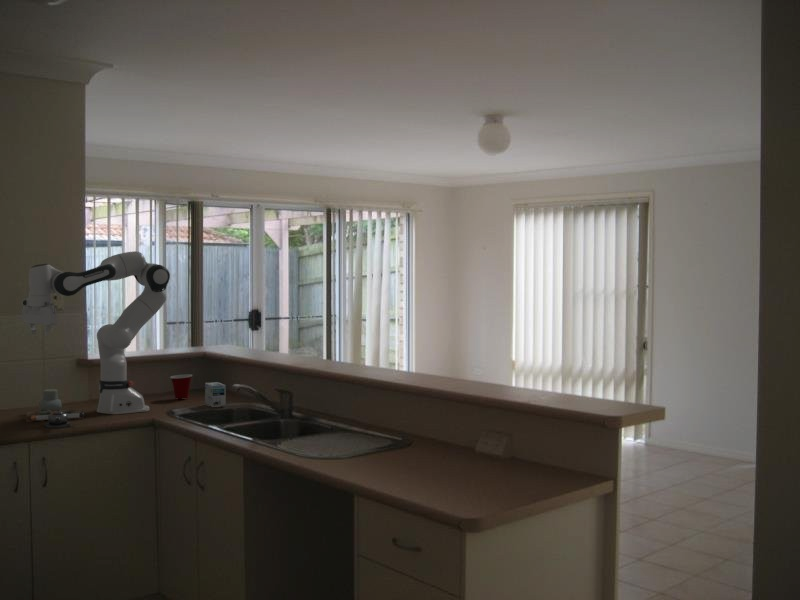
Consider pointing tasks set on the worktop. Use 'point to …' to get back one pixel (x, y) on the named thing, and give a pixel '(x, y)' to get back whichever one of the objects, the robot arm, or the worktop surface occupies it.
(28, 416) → the level stand
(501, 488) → the worktop surface
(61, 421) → the capstan
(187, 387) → the plastic cup
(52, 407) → the air freshener
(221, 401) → the light bulb box
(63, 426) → the pedestal
